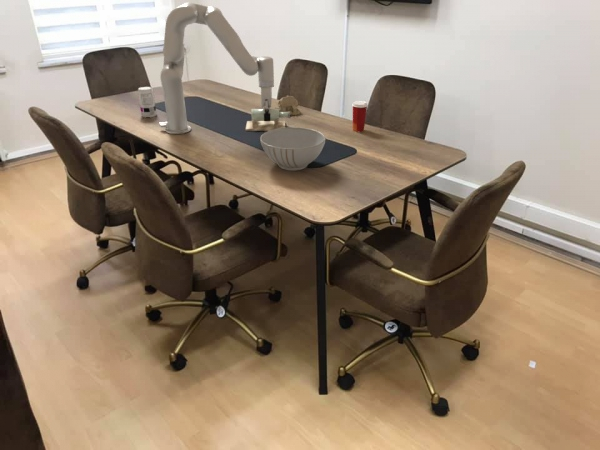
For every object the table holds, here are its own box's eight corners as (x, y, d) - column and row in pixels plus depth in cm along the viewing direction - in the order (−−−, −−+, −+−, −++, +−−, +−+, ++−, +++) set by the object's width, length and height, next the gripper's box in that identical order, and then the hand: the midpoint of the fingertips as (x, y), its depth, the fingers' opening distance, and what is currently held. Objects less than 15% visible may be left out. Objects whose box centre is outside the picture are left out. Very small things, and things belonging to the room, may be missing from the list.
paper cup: (367, 129, 237) (369, 101, 230) (363, 133, 231) (365, 105, 224) (353, 127, 240) (355, 99, 233) (348, 131, 234) (349, 103, 227)
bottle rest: (245, 130, 234) (245, 122, 232) (247, 122, 246) (246, 114, 243) (285, 130, 235) (285, 121, 233) (285, 122, 246) (285, 114, 244)
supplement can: (138, 117, 255) (133, 89, 247) (148, 113, 261) (143, 85, 254) (150, 118, 252) (146, 90, 244) (160, 114, 259) (156, 87, 251)
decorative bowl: (274, 182, 180) (273, 152, 174) (252, 158, 202) (251, 131, 196) (335, 171, 190) (337, 143, 184) (308, 150, 211) (309, 124, 205)
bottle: (251, 122, 236) (251, 110, 233) (252, 119, 241) (251, 107, 238) (290, 122, 236) (290, 110, 234) (290, 118, 242) (289, 107, 239)
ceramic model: (295, 109, 269) (295, 91, 264) (303, 114, 260) (303, 96, 255) (272, 112, 264) (272, 94, 259) (279, 117, 255) (279, 99, 250)
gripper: (259, 79, 237) (260, 114, 246) (257, 87, 222) (259, 124, 231) (274, 79, 237) (274, 114, 246) (273, 87, 222) (274, 124, 231)
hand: (267, 118), depth 238 cm, fingers closed on bottle, 6 cm apart
